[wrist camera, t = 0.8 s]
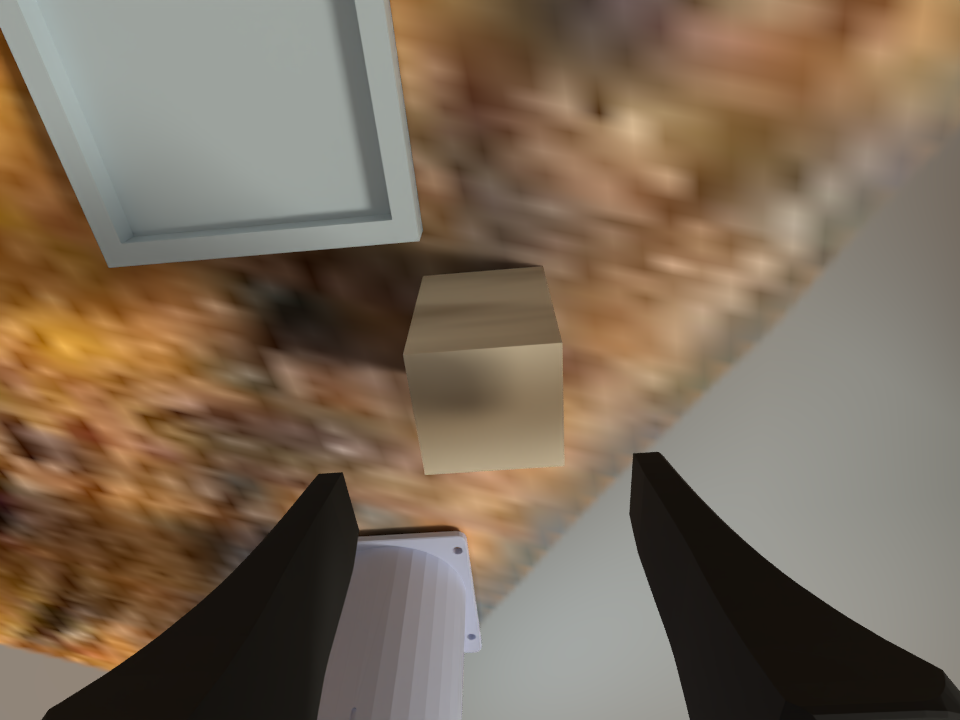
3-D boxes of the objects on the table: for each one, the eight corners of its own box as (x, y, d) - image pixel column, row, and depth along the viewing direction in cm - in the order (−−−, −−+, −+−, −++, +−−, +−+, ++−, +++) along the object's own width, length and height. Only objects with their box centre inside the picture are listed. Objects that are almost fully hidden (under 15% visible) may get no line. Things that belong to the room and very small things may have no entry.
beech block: (546, 368, 23) (564, 465, 18) (438, 376, 23) (425, 474, 18) (542, 265, 21) (562, 342, 16) (423, 275, 21) (403, 354, 16)
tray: (422, 230, 20) (419, 241, 19) (127, 255, 21) (109, 267, 20) (363, -184, 14) (353, -200, 13) (-39, -133, 15) (-78, -145, 14)
